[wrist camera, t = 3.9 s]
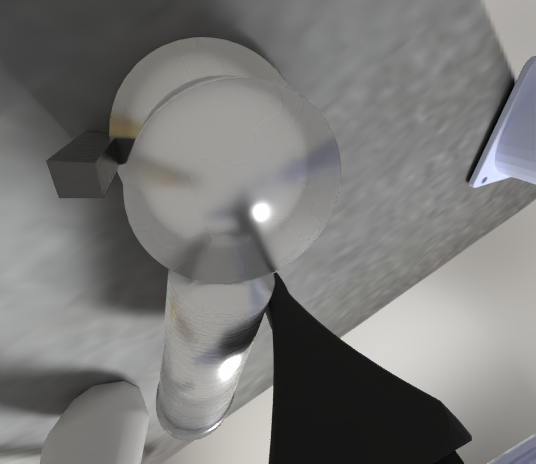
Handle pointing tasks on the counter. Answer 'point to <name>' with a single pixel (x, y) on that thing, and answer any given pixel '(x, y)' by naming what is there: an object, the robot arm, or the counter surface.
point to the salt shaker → (100, 428)
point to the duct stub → (147, 109)
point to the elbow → (224, 225)
